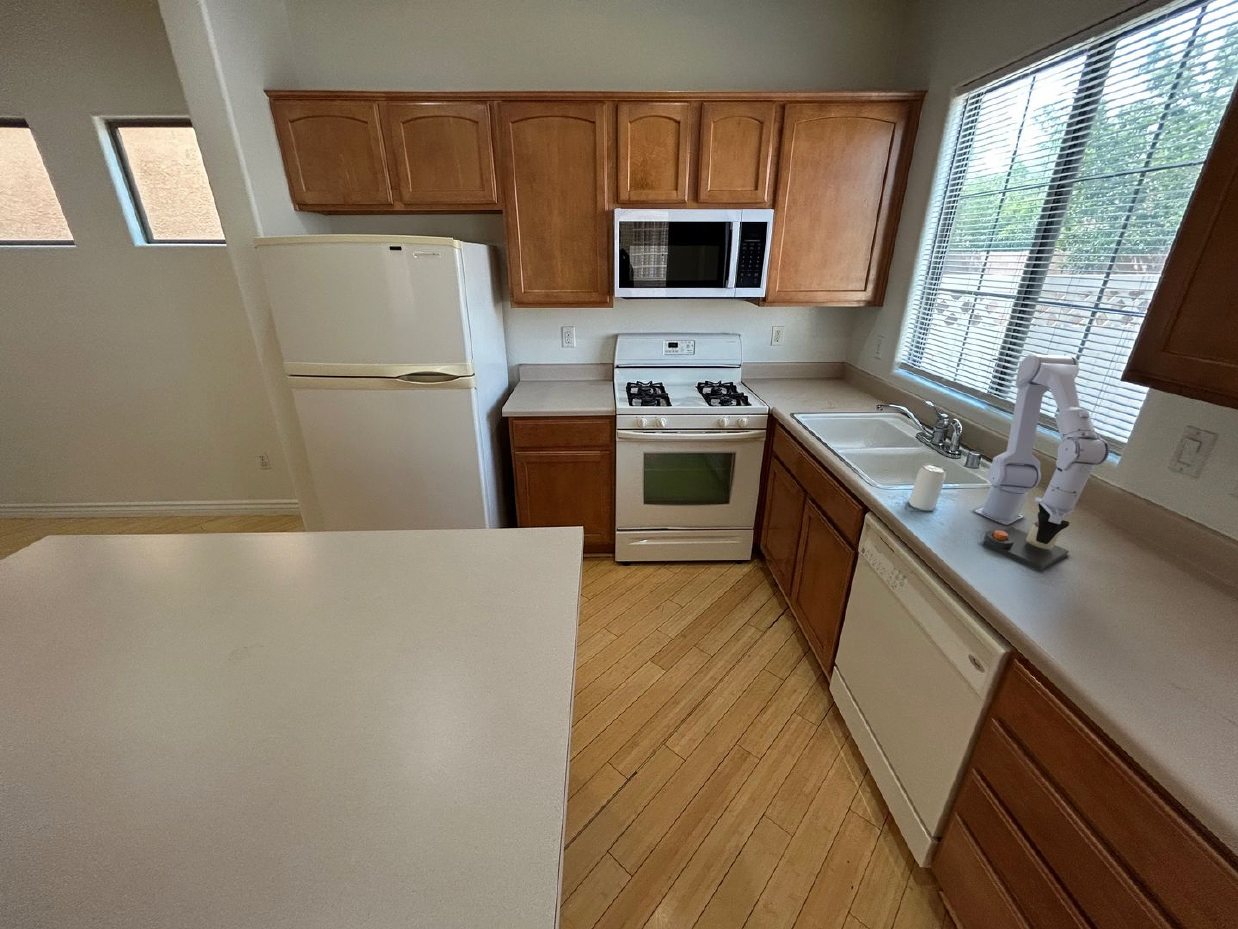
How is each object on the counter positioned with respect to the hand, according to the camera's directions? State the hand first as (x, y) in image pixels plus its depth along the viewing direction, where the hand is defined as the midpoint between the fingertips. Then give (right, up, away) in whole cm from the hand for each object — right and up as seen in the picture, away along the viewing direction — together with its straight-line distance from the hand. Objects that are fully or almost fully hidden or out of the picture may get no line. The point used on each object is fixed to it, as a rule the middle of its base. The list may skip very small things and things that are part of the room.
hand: (1041, 537), depth 115 cm
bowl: (0, -1, +1) cm, 2 cm away
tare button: (-9, -1, +2) cm, 9 cm away
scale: (-3, -4, +2) cm, 5 cm away
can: (-16, +6, +21) cm, 27 cm away
